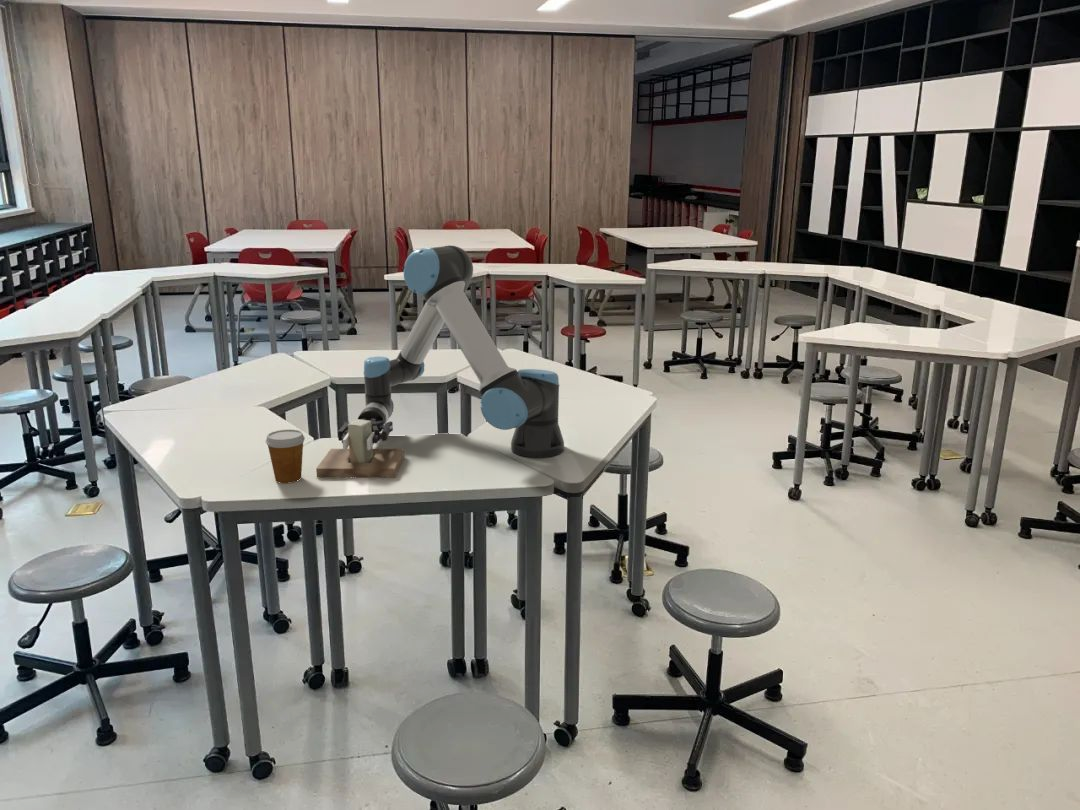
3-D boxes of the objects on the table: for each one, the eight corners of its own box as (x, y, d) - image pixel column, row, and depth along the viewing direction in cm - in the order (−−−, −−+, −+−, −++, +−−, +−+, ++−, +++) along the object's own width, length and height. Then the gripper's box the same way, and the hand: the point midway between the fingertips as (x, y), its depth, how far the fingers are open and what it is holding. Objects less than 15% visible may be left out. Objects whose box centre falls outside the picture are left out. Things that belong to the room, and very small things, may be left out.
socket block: (404, 457, 224) (403, 448, 224) (394, 477, 209) (394, 468, 208) (331, 457, 224) (330, 448, 224) (316, 477, 209) (316, 468, 208)
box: (360, 457, 219) (357, 418, 216) (374, 459, 218) (372, 420, 215) (349, 464, 215) (347, 423, 212) (363, 466, 213) (361, 425, 210)
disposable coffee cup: (268, 474, 211) (265, 430, 207) (307, 471, 213) (303, 427, 210) (268, 487, 202) (264, 441, 199) (308, 483, 205) (305, 438, 202)
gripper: (405, 432, 233) (393, 458, 211) (341, 431, 233) (321, 458, 210) (404, 406, 231) (391, 431, 209) (339, 406, 231) (319, 430, 208)
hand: (356, 444), depth 210 cm, fingers closed on box, 5 cm apart
